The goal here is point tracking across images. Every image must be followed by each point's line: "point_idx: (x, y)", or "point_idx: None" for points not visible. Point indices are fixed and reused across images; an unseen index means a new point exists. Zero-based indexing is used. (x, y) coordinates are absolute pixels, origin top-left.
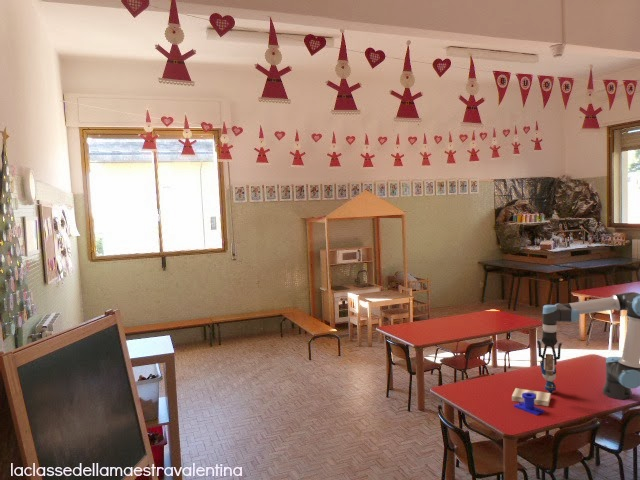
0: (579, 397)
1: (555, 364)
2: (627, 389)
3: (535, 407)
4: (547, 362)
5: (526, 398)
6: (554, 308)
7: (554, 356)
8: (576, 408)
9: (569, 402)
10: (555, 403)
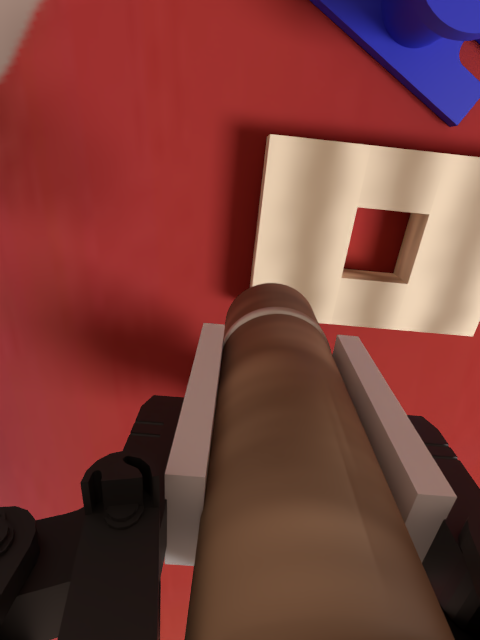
0: (90, 363)
1: (161, 404)
2: None
3: (369, 29)
4: (337, 407)
5: None
6: None
7: (120, 619)
8: (82, 170)
9: (135, 266)
10: (218, 218)
